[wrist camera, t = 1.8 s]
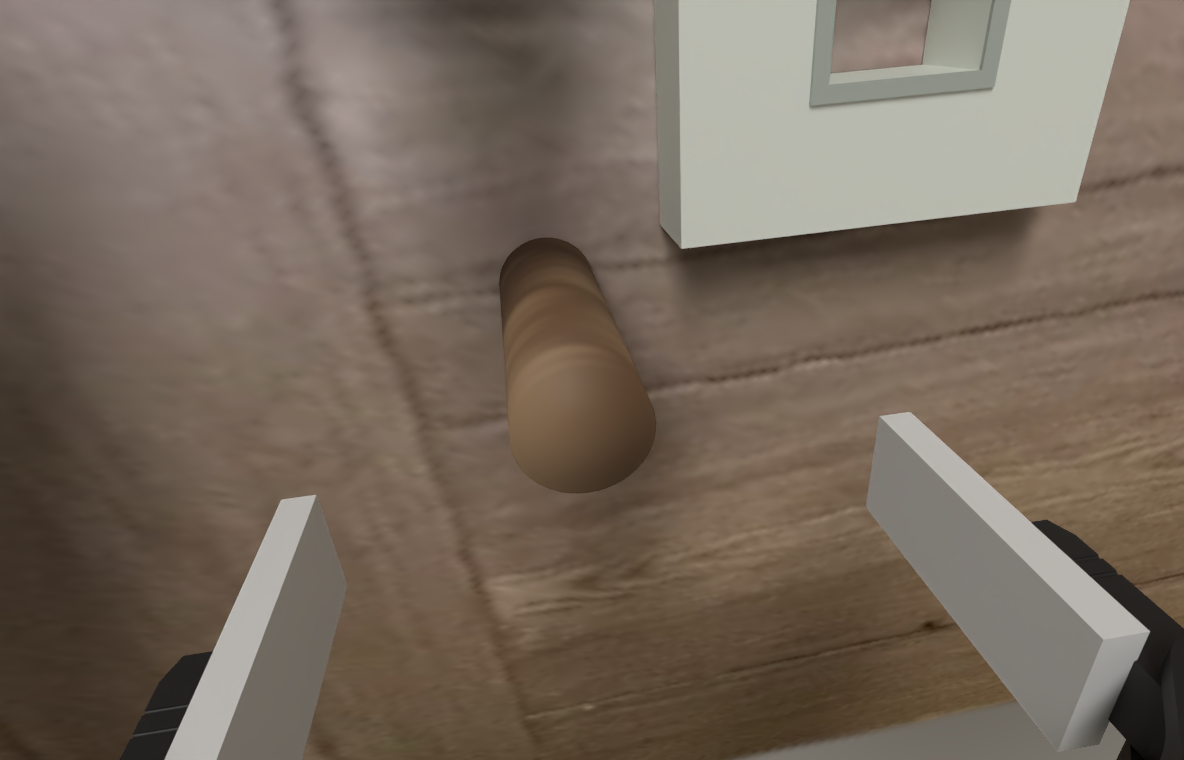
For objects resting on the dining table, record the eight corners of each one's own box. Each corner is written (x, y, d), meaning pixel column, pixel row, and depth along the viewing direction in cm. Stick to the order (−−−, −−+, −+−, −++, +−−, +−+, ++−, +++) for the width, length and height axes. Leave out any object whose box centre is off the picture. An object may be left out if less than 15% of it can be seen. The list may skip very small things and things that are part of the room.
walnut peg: (506, 332, 29) (519, 502, 19) (493, 243, 27) (499, 378, 17) (596, 320, 30) (658, 481, 19) (589, 232, 28) (653, 357, 17)
